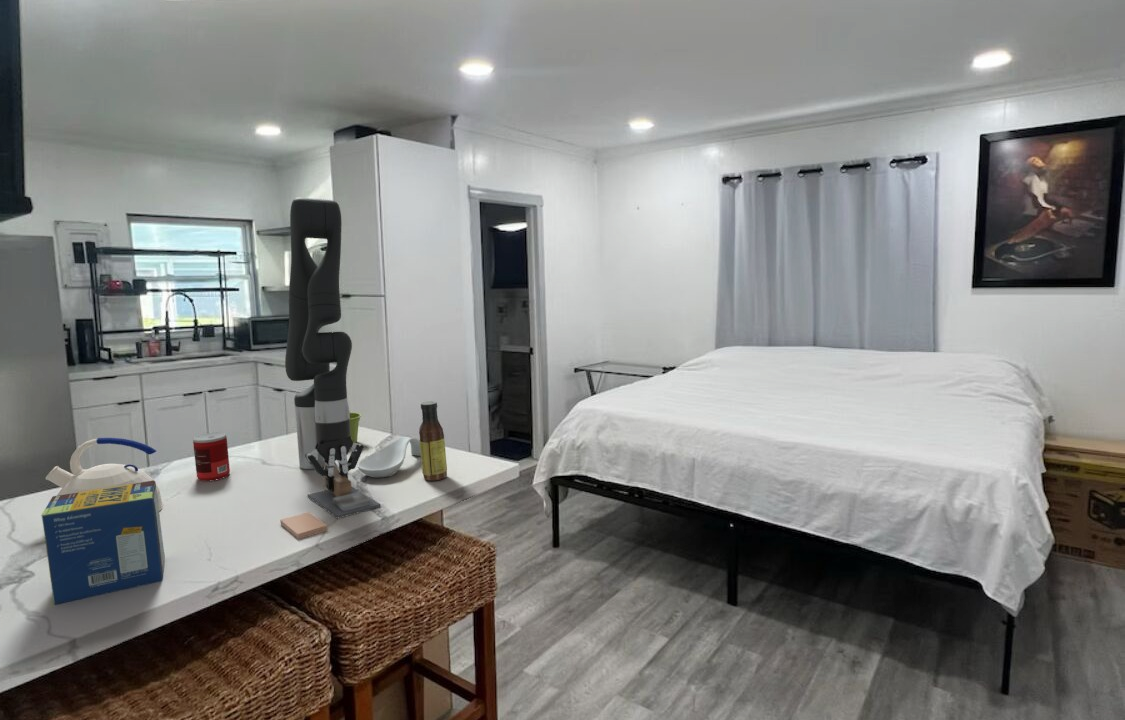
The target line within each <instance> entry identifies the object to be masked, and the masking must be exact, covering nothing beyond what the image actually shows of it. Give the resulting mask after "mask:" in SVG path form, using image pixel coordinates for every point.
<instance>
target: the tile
mask: <svg viewBox="0 0 1125 720" xmlns="http://www.w3.org/2000/svg"><path fill="white" fill-rule="evenodd" d="M280 526H282V527H283V528H284V527H285V528H286V529H287V530H286V529H285V528H284V529H285V530H286V531H287V532H289V533H290V532H291V533H292V534H291V533H290V534H291V535H292V536H294V537H295V538H296V539H297V540H299V539H302V538H306V536H307V537H309V535H310V536H313V535H316V533H317V534H319V533H323V531H324V532H327V531H328V525H327V524H326V523H324V522H323V521H322V520H320V519H319V518H318V517H316V516H315V515H313V514H312V513H311V512H309V511H307V512H304V513H300V514H297V515H292V516H289V517H285V518H283V519H280ZM326 530H327V531H326Z"/></svg>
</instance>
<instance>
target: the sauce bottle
mask: <svg viewBox="0 0 1125 720" xmlns="http://www.w3.org/2000/svg"><path fill="white" fill-rule="evenodd" d="M437 408H438V402H437V401H432V400H431V401H424V402H421V403H420V409H421V414H422V416H421V417H422V422H421V424H420V426H419V431H418V433H419V440H420V450H421V456H420V458H421V460H420V461H421V469H422V471H421V472H422V474H423V475H422V476H423V479H424V480H425V481H430V482H436V481H437V482H438V481H441V480H444V479H445V478H447V476H448V472H447V471H448V464H447V454H446V442H445V434H444V433H445V432H444V430H443V429H444V428H443V427H442V425H441V423H440V421H439V419H438V417H439V416H438V409H437Z"/></svg>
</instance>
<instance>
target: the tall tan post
mask: <svg viewBox="0 0 1125 720" xmlns="http://www.w3.org/2000/svg"><path fill="white" fill-rule="evenodd" d="M339 472H340V471H338V470H337V469H336V468H335V467H333V476H334V478H333V482H334V491H333V492H331V491H330V490H329V489H328V488H327V487H326V476H323V487H324V488H326V490H329V491H330V492H331V493H333V494H334V495H335V496H336V497H335V498H333V502H334V503H335V504H336V505H337V506H338V507H339V508H340V509H342V510H343V511H347V510H351V509H355V508H358V507H362V506H366V505H370V500H368V499H367V498H366V497H365V496H363V495H362V494H361V493H359V492H355V493H351V486H352V481H351V480H350V479H349V478H348V479H347V478H346V477H345V476H342V475H340V474H339Z"/></svg>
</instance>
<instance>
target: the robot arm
mask: <svg viewBox="0 0 1125 720" xmlns="http://www.w3.org/2000/svg"><path fill="white" fill-rule="evenodd" d="M289 210H290V212H289V221H290V222H289V227H290V228H289V229H290V230H289V231H290V258H291V259H290V274H289V276H290V277H289V287H288V331H287V332H288V333H287V340H286V349H285V360H284V366H285V374H286V376H287V378H288V379H289V380H290V381H293V382H302V381H303V382H304V381H312V380H313V384H312V385H311V386H309V387H307V388H306V389H305V390H302V391H300V392H298V393H297V394H295V395H294V400H293V401H294V402H293V403H294V412H295V422H296V423H295V425H296V433H297V434H296V435H297V448H298V460H299V462H298V463H299V467H300V468H301V469H303V470H304V469H305V470H314V471H315V472H316V474H318V475H320V476H321V477H324V476H326V487H327V488H328V489H329V490H330V491H331V492H333V491H334V482H333V478H334V476H333V468H335V463H336V461H337V464H338V470H339V471H338V472H339V474H340V475H342V476H345V477H346V478H347V479H349V472H350V471H351V470H354V469H355V468H356V466H357V464H358V463H359V461H360V458H361V455H362V452H363V450H364V445H362V444H360V443H357V442H356V443H353V440H352V439H351V430H350V413H351V411H350V407H349V406H350V405H349V401H348V390H347V375H348V374H347V371H348V366H349V361H350V358H351V354H352V349H353V342H352V339H351V337H350V336H349V334H348V333H346V332H345V331H328V332H327V331H326V332H325V331H324V332H319V331H320V330H321V329H322V328H323V327H325V326H328V325H332V324H335V323H339V321H340V320H341V318H342V307H341V297H340V296H341V295H340V293H341V292H340V269H341V254H342V253H341V251H342V250H341V249H342V228H343V227H342V213H341V212H342V211H341V207H340V204H338V202H337V201H335V200H332V199H321V198H310V197H295V198H294V199H293V200H292V201H291V204H290V209H289ZM306 239H319V240H320V239H321V240H322V239H324V240H326V241H327V242H326V249H325V253H324V255H323V257H322V259H321V261H320V262H319V264H318V265H317V264H316V262H315V261H314V259H313V257H312V256H311V254H310V251H309V250H308V246H307V244H306ZM331 363H336V365H335V367H334V368H333V369H331V370H330V367H331V366H330V364H331ZM350 451H351V453H350ZM349 453H350V454H349ZM348 454H349V458H348ZM323 467H324V468H323ZM326 487H325V488H326ZM327 488H326V489H327ZM328 489H327V490H328Z"/></svg>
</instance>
